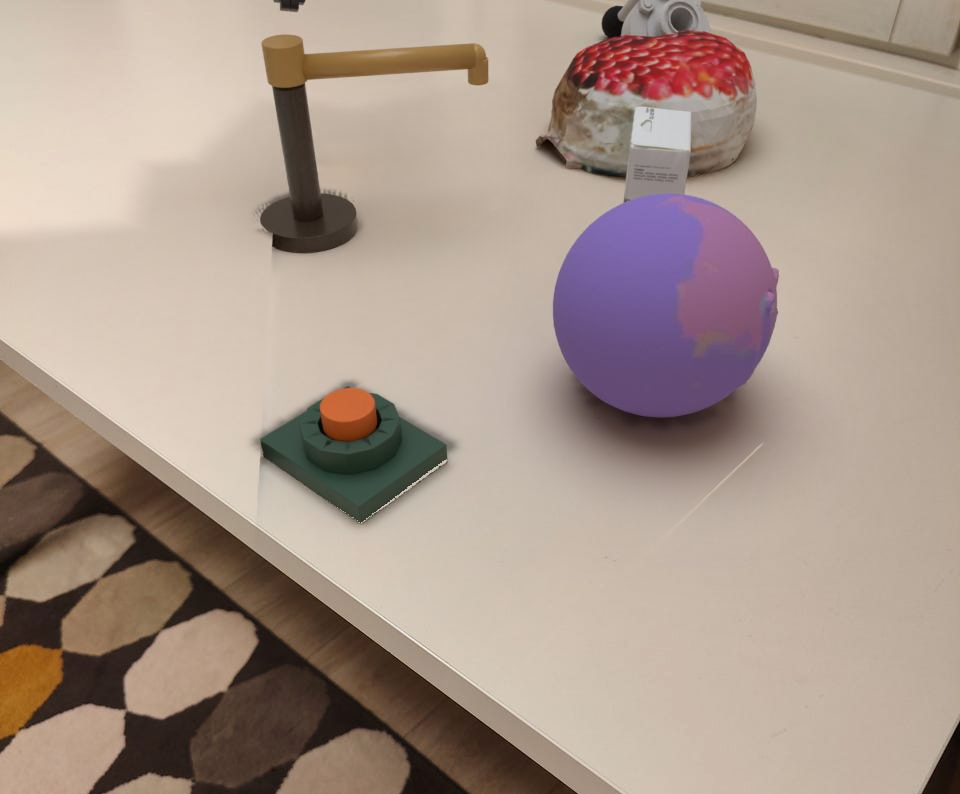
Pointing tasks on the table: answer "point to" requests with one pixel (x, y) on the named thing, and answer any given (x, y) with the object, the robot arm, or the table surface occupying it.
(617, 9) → the valve
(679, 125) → the ink box
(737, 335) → the decorative ball
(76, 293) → the table surface
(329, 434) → the button
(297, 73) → the spout
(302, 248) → the faucet base
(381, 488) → the button box
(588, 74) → the cake
